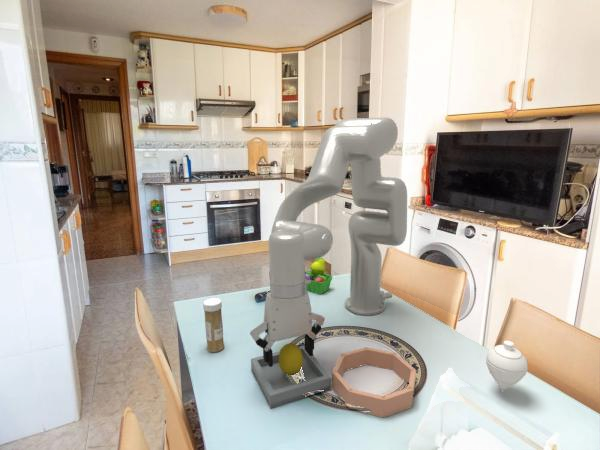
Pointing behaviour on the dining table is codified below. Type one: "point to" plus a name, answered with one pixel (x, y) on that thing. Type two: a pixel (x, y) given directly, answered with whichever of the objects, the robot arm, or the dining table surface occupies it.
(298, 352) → the lemon
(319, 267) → the fruit basket
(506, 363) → the spinning top
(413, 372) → the terracotta ring
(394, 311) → the dining table surface
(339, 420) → the dining table surface
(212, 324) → the sprinkles bottle
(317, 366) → the grey tray
